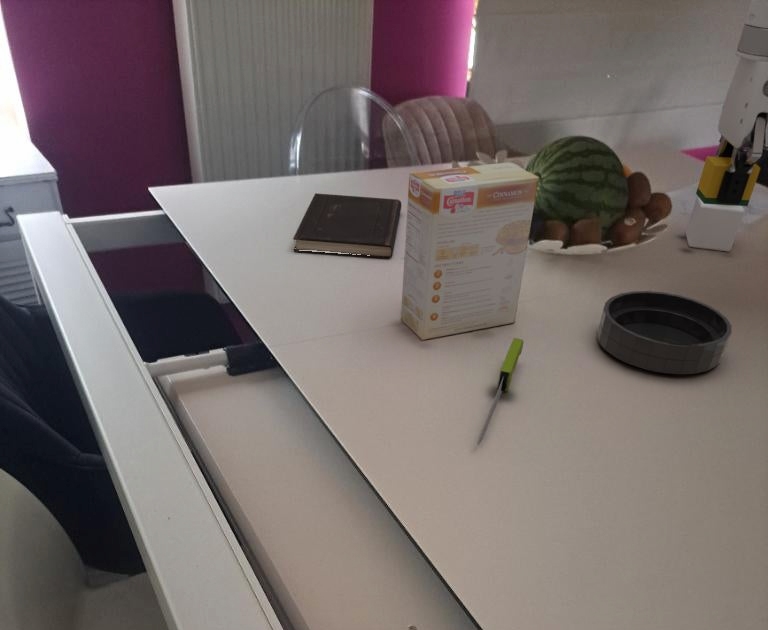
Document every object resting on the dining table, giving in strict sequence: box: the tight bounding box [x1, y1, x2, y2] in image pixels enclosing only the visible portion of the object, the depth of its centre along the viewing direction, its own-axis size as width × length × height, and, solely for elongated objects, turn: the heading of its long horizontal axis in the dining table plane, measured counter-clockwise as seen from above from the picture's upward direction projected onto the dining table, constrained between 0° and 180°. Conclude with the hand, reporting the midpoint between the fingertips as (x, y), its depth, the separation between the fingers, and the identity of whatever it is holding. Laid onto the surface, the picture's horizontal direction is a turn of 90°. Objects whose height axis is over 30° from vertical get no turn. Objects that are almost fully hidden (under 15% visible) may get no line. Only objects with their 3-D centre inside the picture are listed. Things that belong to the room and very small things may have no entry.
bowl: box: [596, 290, 733, 375], centre depth 98 cm, size 16×16×4 cm
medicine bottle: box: [685, 194, 745, 253], centre depth 128 cm, size 7×7×12 cm
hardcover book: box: [292, 192, 402, 260], centre depth 127 cm, size 16×23×2 cm
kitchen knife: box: [476, 337, 524, 446], centre depth 86 cm, size 22×1×3 cm, turn 161°
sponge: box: [695, 155, 761, 207], centre depth 102 cm, size 6×4×5 cm
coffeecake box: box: [400, 161, 540, 341], centre depth 97 cm, size 15×7×20 cm, turn 115°
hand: (722, 195), depth 103 cm, fingers closed on sponge, 4 cm apart
